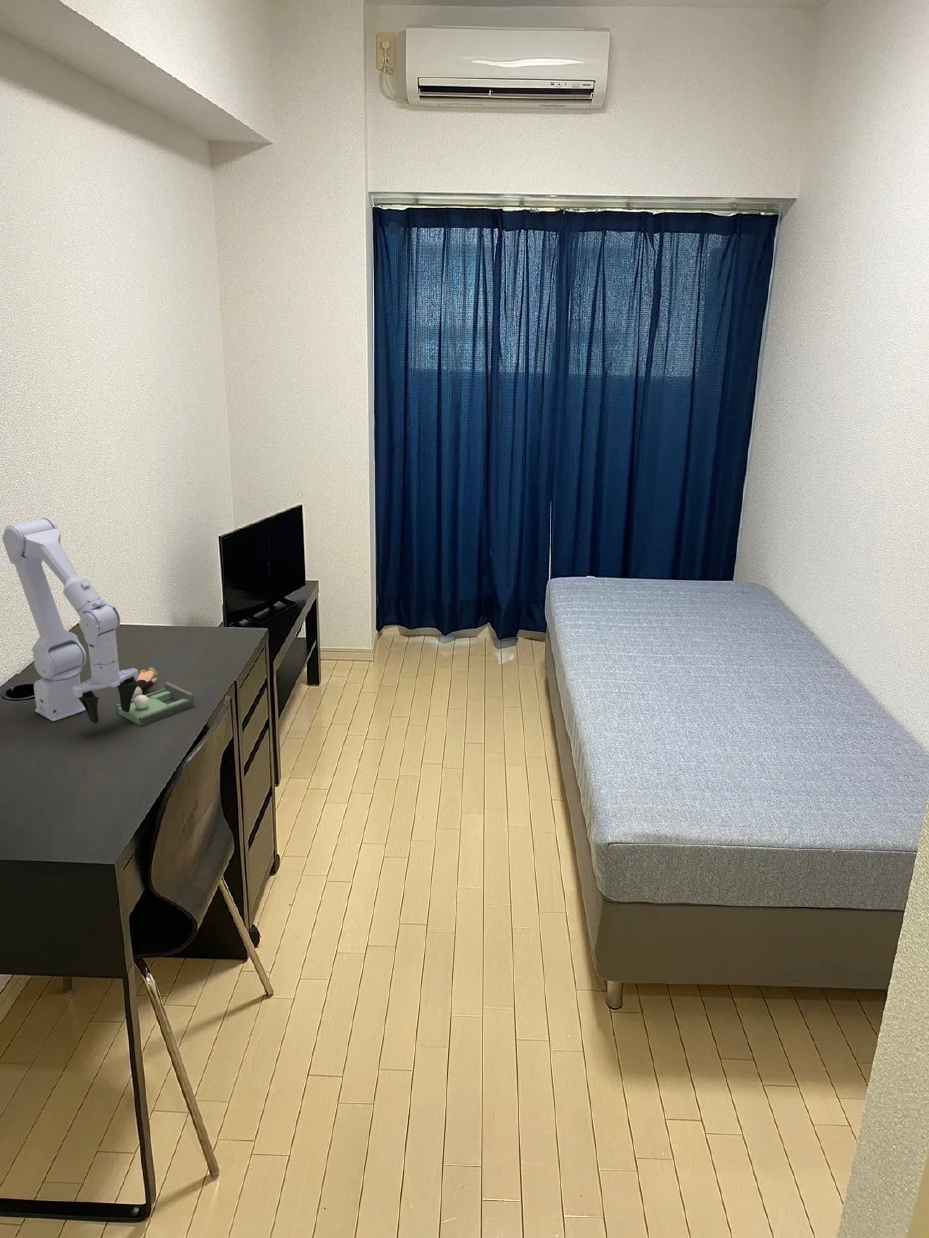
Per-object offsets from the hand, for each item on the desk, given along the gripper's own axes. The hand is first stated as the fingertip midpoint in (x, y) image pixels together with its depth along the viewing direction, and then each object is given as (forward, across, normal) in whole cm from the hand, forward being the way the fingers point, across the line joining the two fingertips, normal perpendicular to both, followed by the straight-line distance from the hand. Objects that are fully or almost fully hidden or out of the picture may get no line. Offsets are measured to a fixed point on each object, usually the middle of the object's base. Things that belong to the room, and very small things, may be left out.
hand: (110, 716), depth 202 cm
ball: (-1, +8, 0) cm, 8 cm away
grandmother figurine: (0, +20, +16) cm, 26 cm away
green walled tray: (+2, +11, 0) cm, 12 cm away
